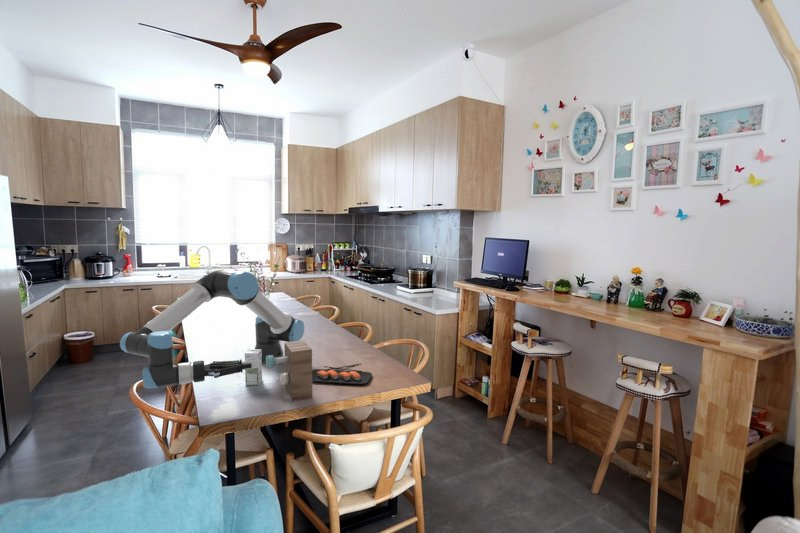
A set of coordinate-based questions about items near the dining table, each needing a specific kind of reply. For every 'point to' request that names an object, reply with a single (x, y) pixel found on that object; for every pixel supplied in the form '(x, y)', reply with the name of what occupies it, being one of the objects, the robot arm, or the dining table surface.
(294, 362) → the block
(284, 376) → the cream knob
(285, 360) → the teal knob
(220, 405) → the dining table surface
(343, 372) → the sushi plate
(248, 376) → the syrup box
